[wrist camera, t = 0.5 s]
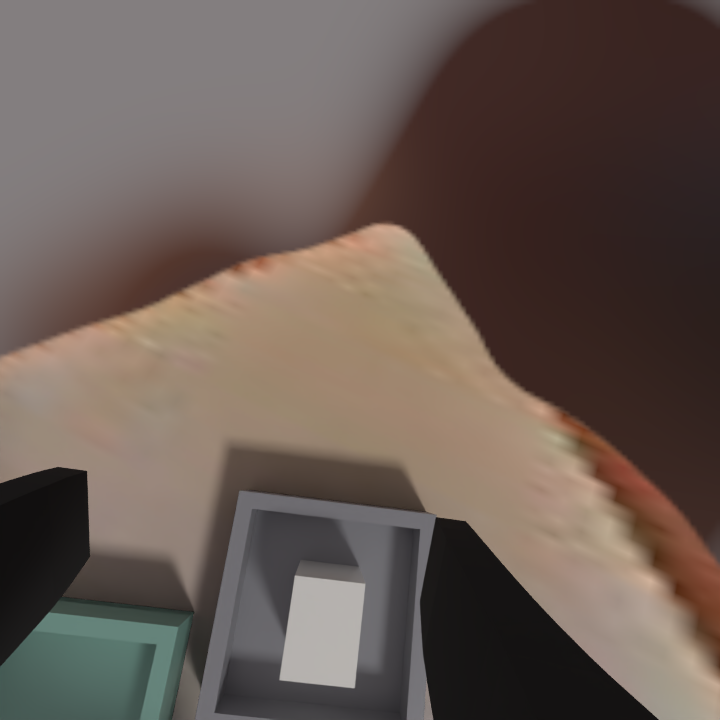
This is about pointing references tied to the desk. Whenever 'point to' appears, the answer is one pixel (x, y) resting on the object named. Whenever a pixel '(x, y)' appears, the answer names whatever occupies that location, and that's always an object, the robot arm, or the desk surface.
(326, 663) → the light gray block
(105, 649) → the bin
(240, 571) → the bin
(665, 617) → the desk surface
